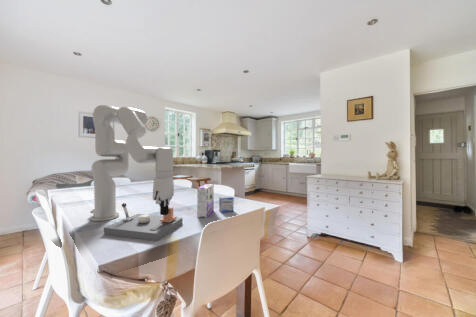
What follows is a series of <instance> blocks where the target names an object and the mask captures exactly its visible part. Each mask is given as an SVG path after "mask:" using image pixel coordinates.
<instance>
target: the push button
mask: <svg viewBox="0 0 476 317" xmlns="http://www.w3.org/2000/svg"><path fill="white" fill-rule="evenodd" d="M150 215H151V214H146V215H140V216H138V223H147V222H149V221H150Z"/></svg>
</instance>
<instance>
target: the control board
mask: <svg viewBox="0 0 476 317" xmlns="http://www.w3.org/2000/svg"><path fill="white" fill-rule="evenodd" d="M140 215H147V214H145V213H136V214H133V215H131V216H129V218H123V219H122V220H119V221H117V222H114V223H112V224H110V225H107V226H104V227H103V235H104V236H105V235H106V236H114V237H121V238H127V239H128V238H130V239H136V240H143V241H144V240H146V241H152V242H153V241H154V242H158V241H160V240H161V239H162V238H164V237H165V236H167V235H168V234H169V233H171V232H172V231H174V230H176V229H177V228H179V227H180V226H181V225H183V217H177V216H176V217H177V218H176V219H174V220H173V221H171V222H160V219H162V218H163V215H155V214H149V215H150V221H149V222H147V223H138V216H140Z"/></svg>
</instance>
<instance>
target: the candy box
mask: <svg viewBox="0 0 476 317" xmlns="http://www.w3.org/2000/svg"><path fill="white" fill-rule="evenodd" d="M214 190H215V188H214V183H213V184H211V183H209V184H207V183H205V184H203V185H201V186H199V187H197V218H202V219H203V218H209V216H210V215H211V214H212V213H213V212H214V210H215V209H214V208H215V206H214V204H215V202H214V200H215V199H214V198H215V197H214V194H215V193H214Z"/></svg>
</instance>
